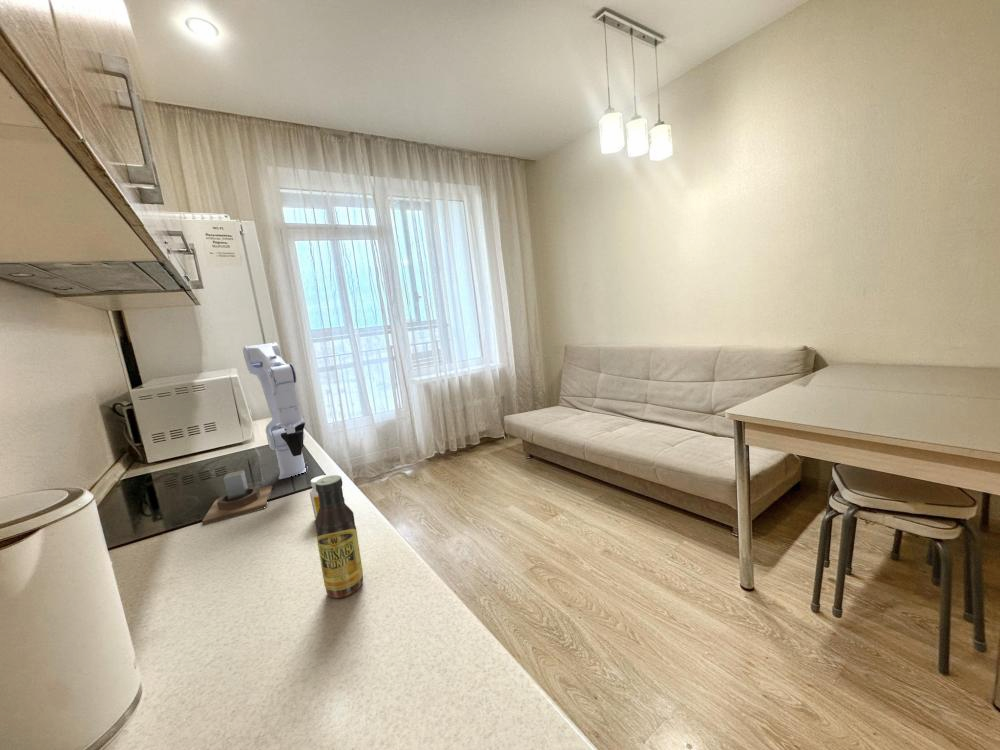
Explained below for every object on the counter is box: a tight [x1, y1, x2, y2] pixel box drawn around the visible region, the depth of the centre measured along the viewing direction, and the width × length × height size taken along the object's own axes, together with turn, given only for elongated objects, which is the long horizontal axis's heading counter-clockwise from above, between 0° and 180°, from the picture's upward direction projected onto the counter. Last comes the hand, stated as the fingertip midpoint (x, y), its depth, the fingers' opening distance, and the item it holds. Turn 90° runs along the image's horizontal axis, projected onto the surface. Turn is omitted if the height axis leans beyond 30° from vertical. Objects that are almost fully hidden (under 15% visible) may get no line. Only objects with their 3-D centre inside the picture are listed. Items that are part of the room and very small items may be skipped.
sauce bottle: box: [314, 474, 364, 599], centre depth 66 cm, size 7×6×20 cm
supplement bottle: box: [309, 474, 328, 520], centre depth 94 cm, size 5×5×10 cm
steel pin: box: [223, 469, 250, 502], centre depth 106 cm, size 4×4×8 cm
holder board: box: [201, 484, 274, 526], centre depth 107 cm, size 14×14×3 cm
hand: (298, 451), depth 114 cm, fingers open, 7 cm apart
